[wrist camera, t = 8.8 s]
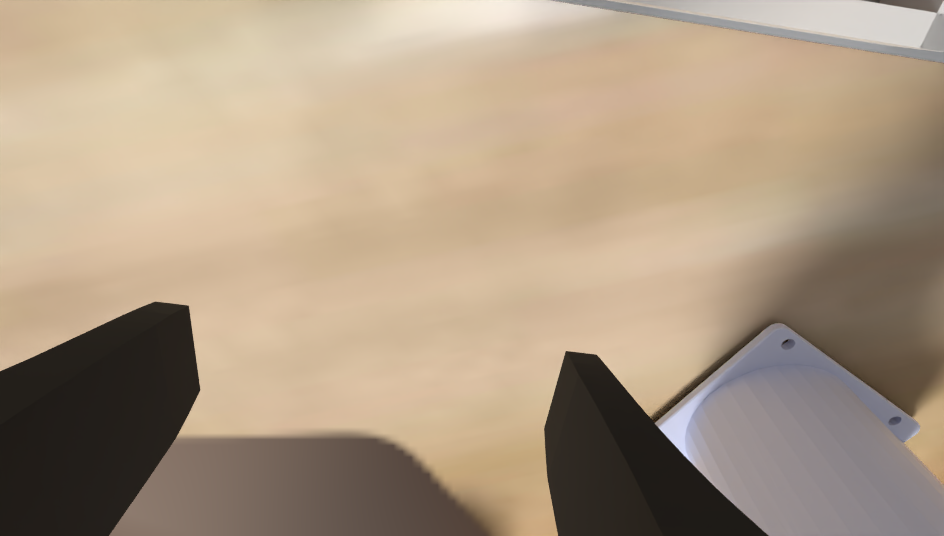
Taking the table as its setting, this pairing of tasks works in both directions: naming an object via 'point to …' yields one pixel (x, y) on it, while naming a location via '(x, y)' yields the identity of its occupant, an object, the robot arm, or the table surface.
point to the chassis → (812, 21)
